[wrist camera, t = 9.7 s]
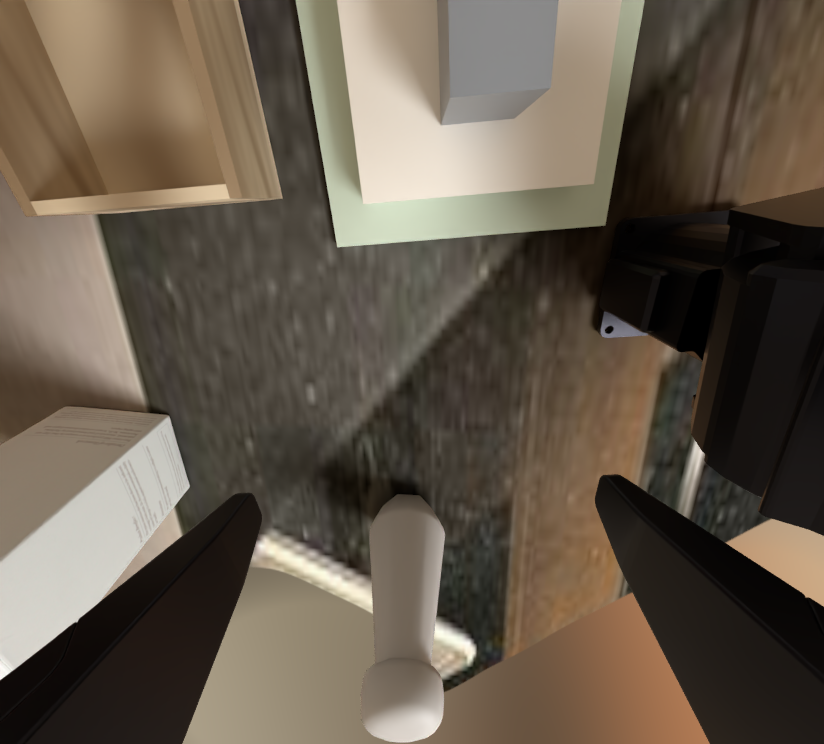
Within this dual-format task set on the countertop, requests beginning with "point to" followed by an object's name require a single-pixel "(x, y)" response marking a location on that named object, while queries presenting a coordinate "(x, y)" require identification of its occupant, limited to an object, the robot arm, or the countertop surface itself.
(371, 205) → the mat
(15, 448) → the supplement box
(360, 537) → the countertop surface
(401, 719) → the salt shaker
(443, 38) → the lid
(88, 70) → the box
